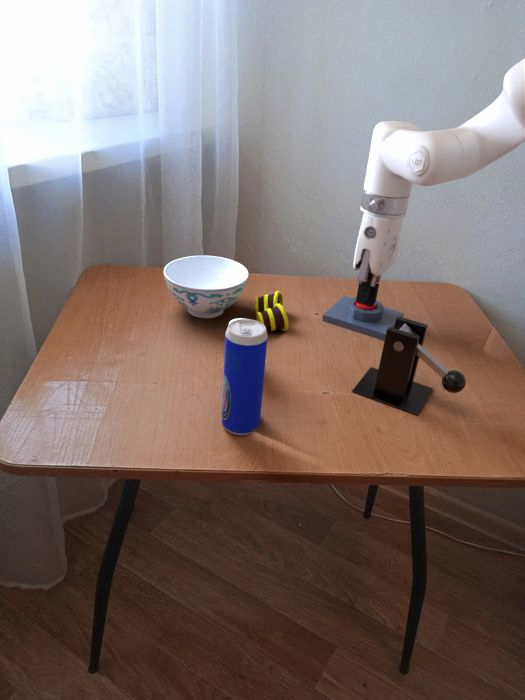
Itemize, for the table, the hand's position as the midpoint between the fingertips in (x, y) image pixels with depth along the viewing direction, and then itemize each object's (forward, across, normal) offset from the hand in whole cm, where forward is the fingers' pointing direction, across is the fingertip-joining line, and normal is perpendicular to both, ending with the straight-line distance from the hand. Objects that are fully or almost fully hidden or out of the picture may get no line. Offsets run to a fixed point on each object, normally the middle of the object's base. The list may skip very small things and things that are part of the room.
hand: (365, 302), depth 101 cm
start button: (+2, 0, 0) cm, 2 cm away
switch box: (+4, 0, 0) cm, 4 cm away
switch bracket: (+4, -19, -12) cm, 23 cm away
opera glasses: (+5, -10, +14) cm, 18 cm away
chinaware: (+5, -13, +26) cm, 29 cm away
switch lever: (-2, -19, -15) cm, 25 cm away
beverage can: (+4, -38, +3) cm, 38 cm away
